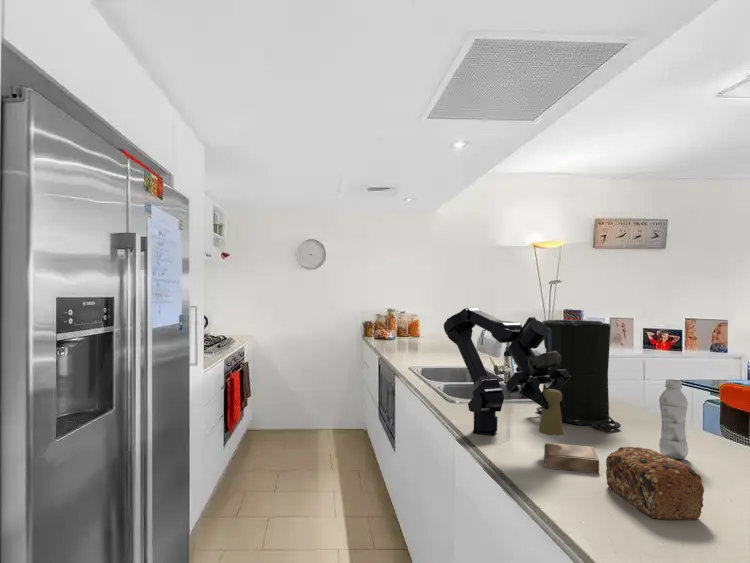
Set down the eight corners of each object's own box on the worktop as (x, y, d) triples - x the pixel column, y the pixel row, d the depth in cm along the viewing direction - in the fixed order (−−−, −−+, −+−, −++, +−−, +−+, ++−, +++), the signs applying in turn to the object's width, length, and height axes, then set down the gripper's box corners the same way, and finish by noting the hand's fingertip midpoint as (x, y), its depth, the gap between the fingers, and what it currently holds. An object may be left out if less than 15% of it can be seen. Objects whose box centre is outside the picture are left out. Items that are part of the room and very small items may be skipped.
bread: (705, 522, 101) (705, 467, 101) (648, 521, 100) (649, 467, 101) (651, 486, 119) (651, 440, 120) (603, 486, 119) (603, 440, 119)
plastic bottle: (678, 463, 136) (678, 383, 137) (653, 455, 142) (653, 379, 143) (693, 460, 139) (694, 381, 140) (669, 453, 145) (669, 377, 146)
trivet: (545, 467, 131) (545, 454, 131) (544, 454, 142) (544, 441, 142) (599, 473, 127) (599, 459, 127) (593, 458, 139) (593, 446, 139)
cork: (560, 436, 136) (560, 392, 137) (536, 432, 140) (536, 389, 140) (566, 431, 141) (566, 389, 142) (542, 428, 145) (543, 386, 145)
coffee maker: (561, 407, 204) (562, 317, 205) (646, 425, 177) (646, 321, 178) (521, 414, 191) (522, 318, 192) (606, 434, 164) (607, 322, 165)
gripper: (514, 341, 140) (545, 391, 130) (566, 339, 149) (599, 386, 139) (493, 367, 147) (521, 417, 137) (544, 365, 156) (574, 411, 146)
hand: (555, 407), depth 139 cm, fingers closed on cork, 5 cm apart
